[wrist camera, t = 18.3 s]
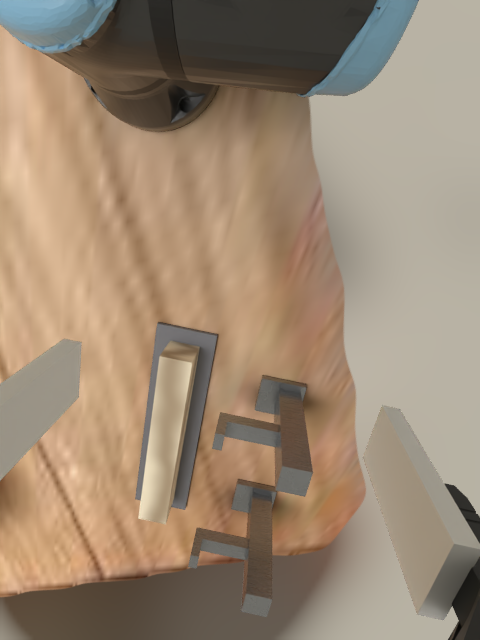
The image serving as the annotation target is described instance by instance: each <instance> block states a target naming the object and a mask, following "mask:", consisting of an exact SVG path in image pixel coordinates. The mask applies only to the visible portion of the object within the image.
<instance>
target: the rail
mask: <svg viewBox="0 0 480 640" xmlns="http://www.w3.org/2000/svg"><path fill="white" fill-rule="evenodd" d="M199 348H200V347H199V346H194V345H189V344H185V343H180V342H175V341H170V342H169V343H168V345H167V346H166V347H165V349H164V350H163V352H162V353H161V355H160V357H159V365H158V372H157V380H156V388H155V395H154V403H153V411H152V418H151V426H150V434H149V441H148V449H147V456H146V464H145V472H144V479H143V487H142V495H141V502H140V510H139V518H138V519H143V520H148V521H152V522H157V523H162V524H166V522H167V519H168V516H169V512H170V509H171V506H172V503H173V500H174V496H175V490H176V484H177V478H178V472H179V467H180V461H181V455H182V449H183V443H184V437H185V431H186V425H187V419H188V413H189V407H190V402H191V396H192V390H193V384H194V378H195V372H196V366H197V360H198V354H199Z"/></svg>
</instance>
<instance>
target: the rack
mask: <svg viewBox="0 0 480 640" xmlns="http://www.w3.org/2000/svg"><path fill="white" fill-rule="evenodd" d="M306 388H307V387H306V384H303V383H298V382H293V381H288V380H284V379H279V378H274V377H269V376H264V375H262V380H261V384H260V388H259V392H258V396H257V401H256V405H255V410H256V411H261V412H266V413H270V414H274V424H273V423H269V422H264V421H259V420H254V419H250V418H245V417H240V416H235V415H231V414H226V413H221V412H220V415H219V420H218V424H217V428H216V433H215V437H214V442H213V447H212V449H216V450H222V445H223V440H224V436H225V437H230V438H235V439H239V440H244V441H249V442H254V443H258V444H263V445H268V446H273V447H275V487H273V486H268V485H264V484H259V483H254V482H250V481H245V480H240V479H238V481H237V485H236V489H235V493H234V498H233V502H232V508H231V509H233V510H237V511H242V512H247V513H248V522H247V535H246V538H244V537H239V536H234V535H230V534H225V533H221V532H216V531H211V530H207V529H202V528H197V529H196V534H195V538H194V543H193V547H192V552H191V557H190V562H189V566H188V567H192V568H197V563H198V558H199V553H200V550H201V551H206V552H210V553H215V554H220V555H224V556H229V557H234V558H238V559H243V560H245V563H244V577H243V591H242V605H241V612H245V613H251V614H255V615H259V616H264V617H267V614H268V611H269V608H270V605H271V602H272V507H273V504H274V500H275V497H276V493H277V491H281V492H286V493H290V494H295V495H300V496H305V495H306V492H307V489H308V486H309V483H310V480H311V477H312V474H313V471H312V464H311V457H310V450H309V444H308V437H307V430H306V423H305V417H304V410H303V403H302V402H303V399H304V395H305V392H306Z"/></svg>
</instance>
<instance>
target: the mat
mask: <svg viewBox="0 0 480 640" xmlns="http://www.w3.org/2000/svg"><path fill="white" fill-rule="evenodd" d="M217 335H218V334H214V333H209V332H204V331H199V330H194V329H190V328H185V327H180V326H175V325H170V324H166V323H161V322H158V323H157V329H156V337H155V346H154V354H153V362H152V370H151V378H150V386H149V394H148V402H147V410H146V418H145V426H144V434H143V442H142V450H141V458H140V466H139V474H138V482H137V490H136V498H135V499H137V500H141V495H142V487H143V479H144V472H145V464H146V456H147V449H148V441H149V434H150V426H151V418H152V411H153V403H154V395H155V388H156V380H157V372H158V365H159V357H160V355H161V353H162V352H163V350H164V349H165V347H166V346H167V345H168V343H169V342H170V341H175V342H180V343H185V344H189V345H194V346H199V347H200V348H199V354H198V360H197V366H196V372H195V378H194V384H193V390H192V396H191V402H190V407H189V413H188V419H187V425H186V431H185V437H184V443H183V449H182V455H181V461H180V467H179V472H178V478H177V484H176V490H175V496H174V500H173V503H172V506H171V507H174V508H179V509H183V510H185V508H186V504H187V498H188V493H189V487H190V482H191V476H192V471H193V466H194V460H195V455H196V449H197V444H198V438H199V433H200V428H201V422H202V417H203V411H204V406H205V401H206V395H207V390H208V384H209V379H210V373H211V368H212V363H213V357H214V352H215V346H216V341H217Z"/></svg>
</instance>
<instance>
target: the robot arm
mask: <svg viewBox="0 0 480 640" xmlns="http://www.w3.org/2000/svg"><path fill="white" fill-rule="evenodd" d="M418 1H419V0H0V25H2V26H3V27H4V28H5V29H6V30H8V31H9V32H10V34H11V35H12V36H13V37H15V38H17V39H18V40H19V41H20V42H21V43H23V44H26V46H28V47H29V48H32V49H36V50H38V51H40V52H42V53H43V54H45V55H47V56H49V57H50V58H52V59H54V60H55V61H57V62H59V63H60V64H62V65H64V66H65V67H67V68H69V69H70V70H72V71H74V72H76V73H77V74H79V75H81V76H82V77H84V79H85V81H86V83H87V85H88V87H89V89H90V90H91V92H92V93H93V95H94V96H95V97H96V99H97V100H98V101H99V102H100V103H101V104H102V106H103V107H105V108H106V109H107V110H108V111H109V112H110V113H111V114H112V115H114V116H115V117H117V118H118V119H120V120H122V121H124V122H125V123H128V124H130V125H132V126H134V127H136V128H139V129H143V130H147V131H155V132H162V131H169V130H174V129H177V128H180V127H182V126H184V125H186V124H188V123H190V122H191V121H193V120H194V119H195V118H196V117H198V116H199V115H200V114H201V113H202V112H203V111H204V110H205V109H206V107H207V106H208V105H209V103H210V102H211V100H212V99H213V97H214V95H215V93H216V91H217V89H218V87H219V85H223V86H232V87H241V88H250V89H259V90H268V91H277V92H286V93H295V94H296V95H298V96H300V97H306V96H308V97H310V96H313V95H315V94H317V95H337V96H347V95H349V94H353V93H356V92H357V91H360V90H362V89H363V88H365V87H366V86H367V85H368V84H369V83H371V81H373V80H374V79H375V77H376V76H377V75H378V74H379V73H380V71H381V70H382V68H383V67H384V66H385V64H386V63H387V62H388V60H389V58H390V57H391V55H392V53H393V52H394V50H395V48H396V46H397V44H398V43H399V41H400V39H401V37H402V35H403V33H404V31H405V29H406V27H407V25H408V23H409V21H410V19H411V17H412V15H413V12H414V10H415V8H416V6H417V3H418ZM81 343H82V342H78V341H73V340H68V339H63V340H62V341H60V342H59V343H57V344H56V345H55V346H53V347H52V348H50V349H49V350H47V351H46V352H45V353H43V354H42V355H40V356H39V357H38V358H36V359H35V360H33V361H32V362H31V363H29V364H28V365H26V366H25V367H23V368H22V369H21V370H19V371H18V372H16V373H15V374H14V375H12V376H11V377H9V378H8V379H7V380H5V381H4V382H2V383H1V384H0V481H1V479H2V478H3V477H4V476H5V475H6V474H7V473H8V472H9V471H10V470H11V469H12V468H13V467H14V466H15V465H16V463H17V462H18V461H19V460H20V459H21V458H22V457H23V456H24V455H25V454H26V453H27V452H28V451H29V450H30V449H31V447H32V446H33V445H34V444H35V443H36V442H37V441H38V440H39V439H40V438H41V437H42V436H43V435H44V434H45V433H46V432H47V430H48V429H49V428H50V427H51V426H52V425H53V424H54V423H55V422H56V421H57V420H58V419H59V418H60V417H61V416H62V414H63V413H64V412H65V411H66V410H67V409H68V408H69V407H70V406H71V405H72V404H73V403H74V402H75V401H76V400H77V398H78V397H79V381H80V362H81ZM363 459H364V462H365V465H366V468H367V471H368V474H369V476H370V479H371V482H372V485H373V488H374V491H375V494H376V497H377V500H378V503H379V505H380V508H381V511H382V514H383V517H384V520H385V523H386V526H387V528H388V531H389V534H390V537H391V540H392V543H393V546H394V548H395V551H396V555H397V557H398V560H399V563H400V566H401V569H402V572H403V575H404V578H405V581H406V584H407V586H408V589H409V592H410V595H411V598H412V601H413V604H414V606H415V610H416V613H417V614H418V615H422V616H427V617H431V618H436V619H441V620H444V619H445V617H446V616H447V614H448V612H449V610H450V608H451V607H452V606H453V608H454V610H455V613H456V615H457V617H458V620H459V622H458V623H457V625H456V627H455V629H454V630H453V632H452V634H451V635H450V637H449V639H448V640H480V517H479V516H478V514H476V511H475V509H474V508H473V506H472V505H471V503H470V502H469V500H468V499H467V497H466V496H464V495H463V494H462V493H461V492H460V491H459V490H458V489H457V488H456V487H455V486H454V485H449V484H444V483H443V481H442V479H441V478H440V476H439V474H438V473H437V471H436V469H435V467H434V466H433V464H432V462H431V461H430V459H429V458H428V456H427V454H426V452H425V451H424V449H423V447H422V446H421V444H420V442H419V440H418V439H417V437H416V435H415V434H414V432H413V430H412V429H411V427H410V425H409V424H408V422H407V420H406V419H405V417H404V415H403V413H402V412H401V410H400V409H397V408H393V407H388V406H382V407H381V410H380V412H379V415H378V418H377V421H376V423H375V426H374V429H373V431H372V434H371V437H370V439H369V443H368V445H367V448H366V451H365V453H364V456H363Z"/></svg>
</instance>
